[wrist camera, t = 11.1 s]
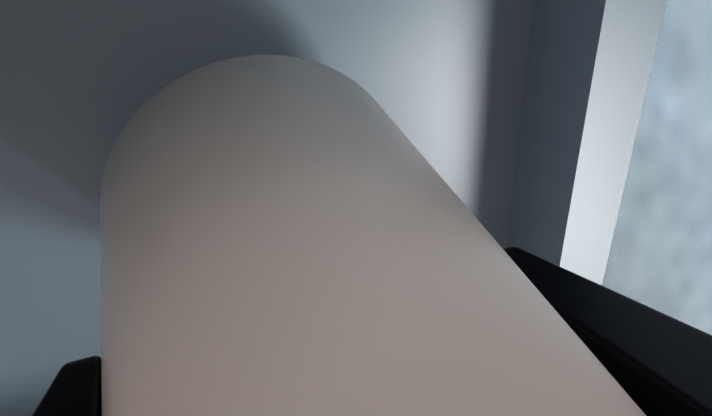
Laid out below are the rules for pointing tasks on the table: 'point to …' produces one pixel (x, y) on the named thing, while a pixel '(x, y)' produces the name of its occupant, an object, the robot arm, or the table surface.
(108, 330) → the shaker
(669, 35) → the table surface
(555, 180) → the tray
